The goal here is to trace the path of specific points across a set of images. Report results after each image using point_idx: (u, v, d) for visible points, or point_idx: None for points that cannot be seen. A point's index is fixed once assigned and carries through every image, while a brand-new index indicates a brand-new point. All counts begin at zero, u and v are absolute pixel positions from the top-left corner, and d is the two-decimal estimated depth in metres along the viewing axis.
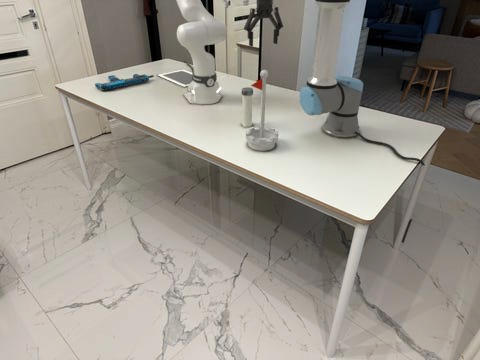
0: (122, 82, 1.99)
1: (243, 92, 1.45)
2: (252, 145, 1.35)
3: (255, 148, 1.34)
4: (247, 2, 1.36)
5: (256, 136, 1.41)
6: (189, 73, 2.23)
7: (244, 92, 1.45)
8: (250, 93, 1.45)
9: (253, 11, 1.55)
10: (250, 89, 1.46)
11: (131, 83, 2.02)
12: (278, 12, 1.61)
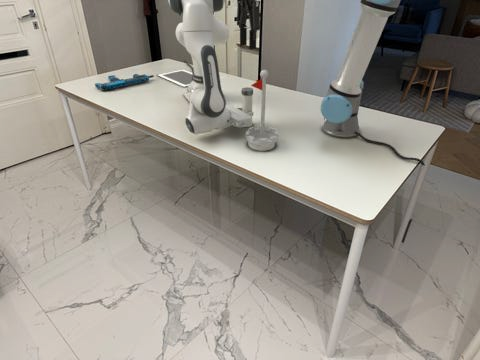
0: (122, 82, 1.99)
1: (243, 92, 1.45)
2: (252, 145, 1.35)
3: (255, 148, 1.34)
4: None
5: (256, 136, 1.41)
6: (189, 73, 2.23)
7: (244, 92, 1.45)
8: (250, 93, 1.45)
9: (237, 1, 1.32)
10: (250, 89, 1.46)
11: (131, 83, 2.02)
12: (253, 8, 1.23)
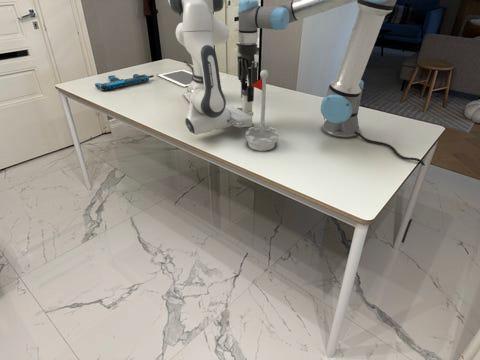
0: (122, 82, 1.99)
1: (243, 92, 1.45)
2: (252, 145, 1.35)
3: (255, 148, 1.34)
4: None
5: (256, 136, 1.41)
6: (189, 73, 2.23)
7: (244, 92, 1.45)
8: None
9: (238, 59, 1.44)
10: None
11: (131, 83, 2.02)
12: (252, 69, 1.36)
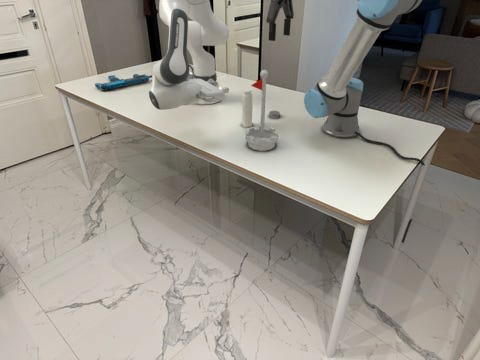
0: (122, 82, 1.99)
1: (279, 114, 1.62)
2: (252, 145, 1.35)
3: (255, 148, 1.34)
4: None
5: (256, 136, 1.41)
6: (189, 73, 2.23)
7: (279, 114, 1.63)
8: None
9: None
10: (273, 111, 1.64)
11: (131, 83, 2.02)
12: None
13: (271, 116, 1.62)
